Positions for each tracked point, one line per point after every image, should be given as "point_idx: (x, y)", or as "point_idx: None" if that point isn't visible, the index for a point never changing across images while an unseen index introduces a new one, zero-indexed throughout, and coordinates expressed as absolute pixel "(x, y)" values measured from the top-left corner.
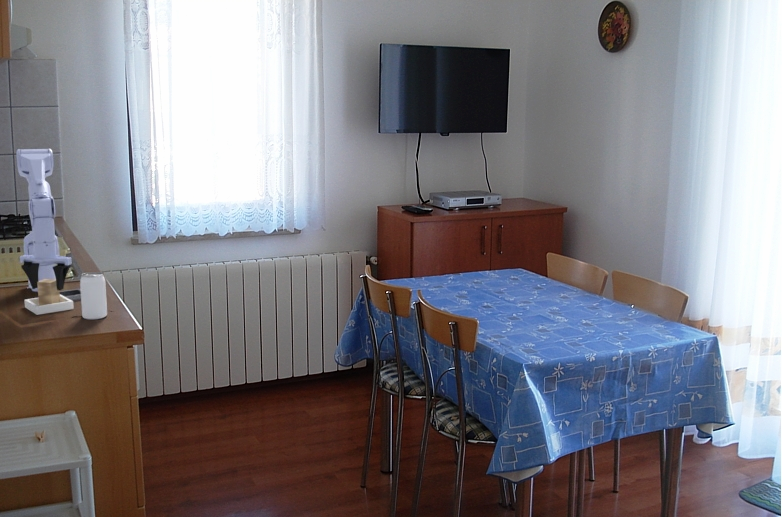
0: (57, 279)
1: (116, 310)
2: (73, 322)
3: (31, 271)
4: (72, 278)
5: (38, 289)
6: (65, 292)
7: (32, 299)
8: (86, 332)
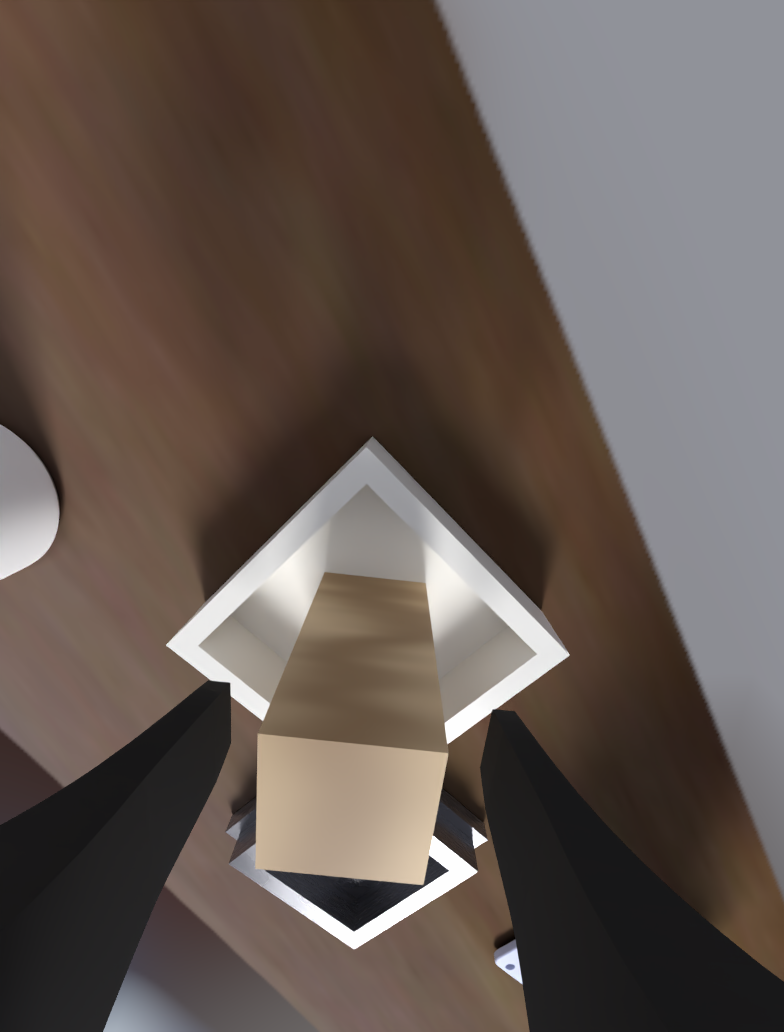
0: (124, 769)
1: None
2: (33, 331)
3: (584, 946)
4: None
5: (430, 682)
6: (407, 887)
7: (511, 671)
8: None
